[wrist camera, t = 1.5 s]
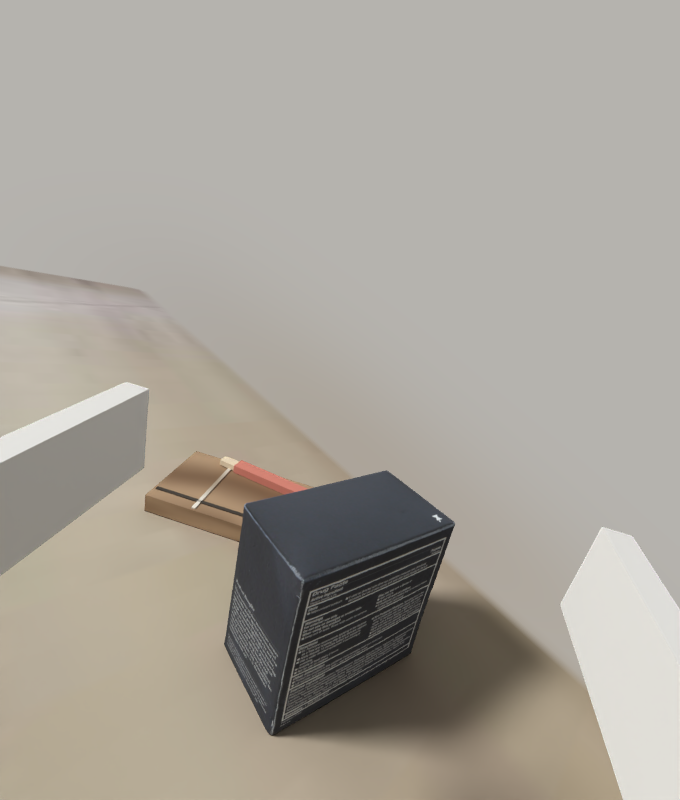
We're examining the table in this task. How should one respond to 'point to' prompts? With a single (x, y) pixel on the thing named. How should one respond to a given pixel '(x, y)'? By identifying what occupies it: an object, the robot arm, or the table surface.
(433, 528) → the small box
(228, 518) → the wooden board
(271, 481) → the carpenter pencil
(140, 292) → the table surface
